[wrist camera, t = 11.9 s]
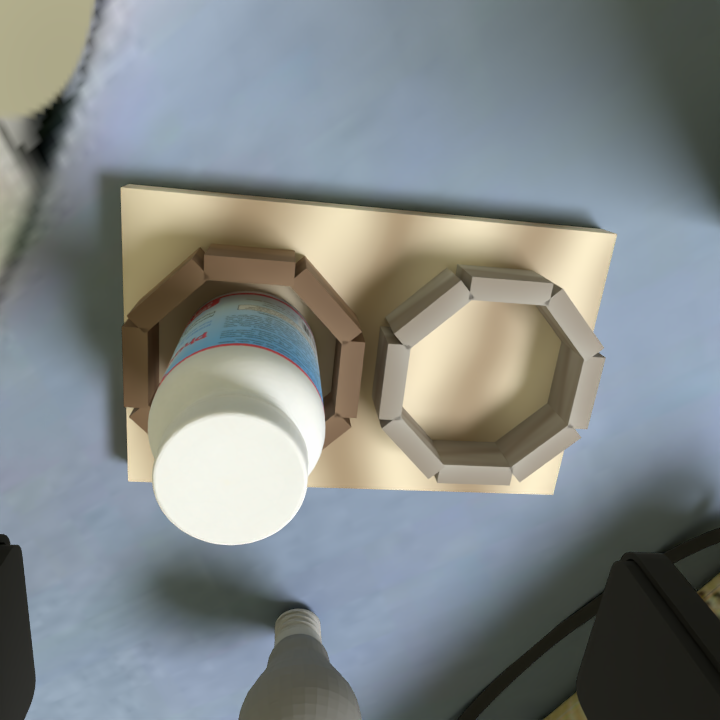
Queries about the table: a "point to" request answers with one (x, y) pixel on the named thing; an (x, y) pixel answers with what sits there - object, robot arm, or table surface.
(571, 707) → the clutch purse
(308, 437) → the pill bottle
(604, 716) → the robot arm
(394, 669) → the table surface
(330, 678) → the light bulb
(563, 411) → the holder board
